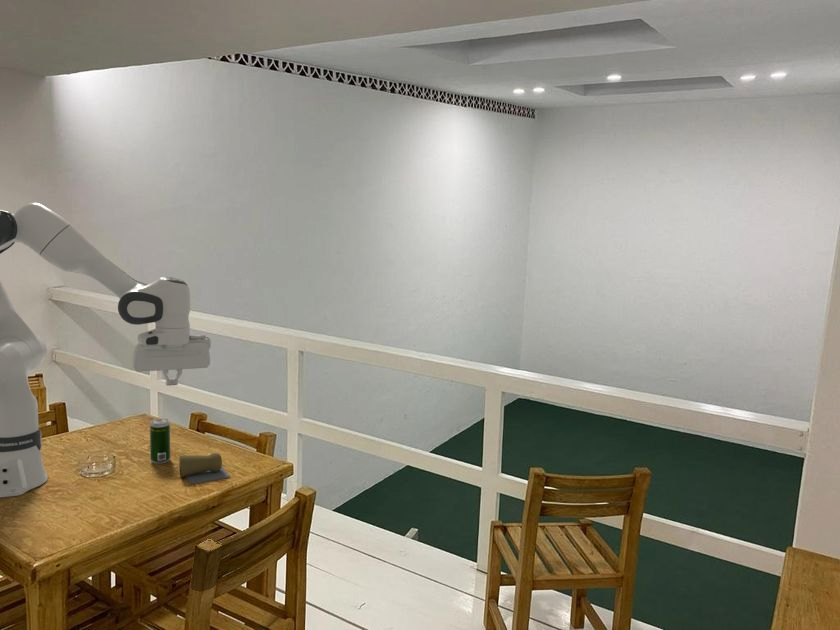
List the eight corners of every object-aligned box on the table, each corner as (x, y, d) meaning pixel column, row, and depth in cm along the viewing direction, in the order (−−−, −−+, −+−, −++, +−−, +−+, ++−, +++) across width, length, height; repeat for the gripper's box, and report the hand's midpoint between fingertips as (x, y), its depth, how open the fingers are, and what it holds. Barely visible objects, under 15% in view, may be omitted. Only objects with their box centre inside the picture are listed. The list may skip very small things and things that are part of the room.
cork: (179, 478, 186) (220, 473, 190) (181, 476, 180) (223, 471, 185) (178, 456, 187) (219, 452, 192) (180, 453, 182) (222, 449, 187)
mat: (191, 484, 179) (191, 482, 179) (182, 471, 188) (182, 470, 188) (230, 477, 185) (230, 476, 185) (219, 465, 193) (219, 464, 193)
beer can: (173, 461, 195) (172, 422, 193) (154, 465, 191) (153, 425, 189) (166, 456, 199) (166, 417, 197) (148, 459, 195) (147, 420, 194)
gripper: (208, 333, 193) (206, 379, 195) (131, 335, 182) (131, 384, 184) (213, 337, 187) (212, 385, 189) (135, 339, 176) (134, 390, 178)
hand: (171, 384), depth 186 cm, fingers closed
